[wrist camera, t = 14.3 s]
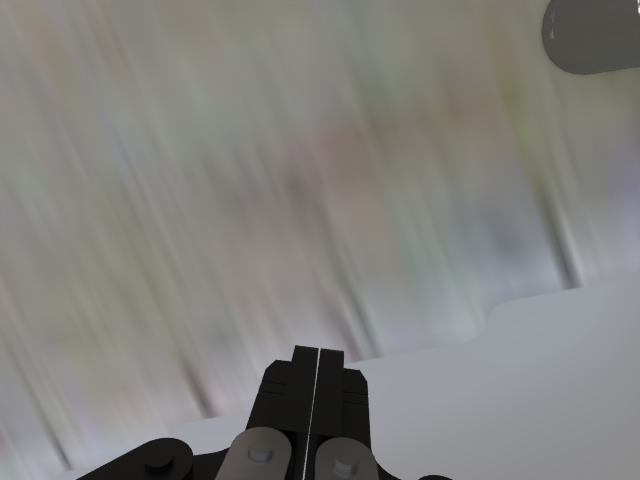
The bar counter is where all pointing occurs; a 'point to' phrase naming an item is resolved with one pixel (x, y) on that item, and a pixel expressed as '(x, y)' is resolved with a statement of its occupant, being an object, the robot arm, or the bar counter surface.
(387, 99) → the bar counter surface
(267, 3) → the bar counter surface
